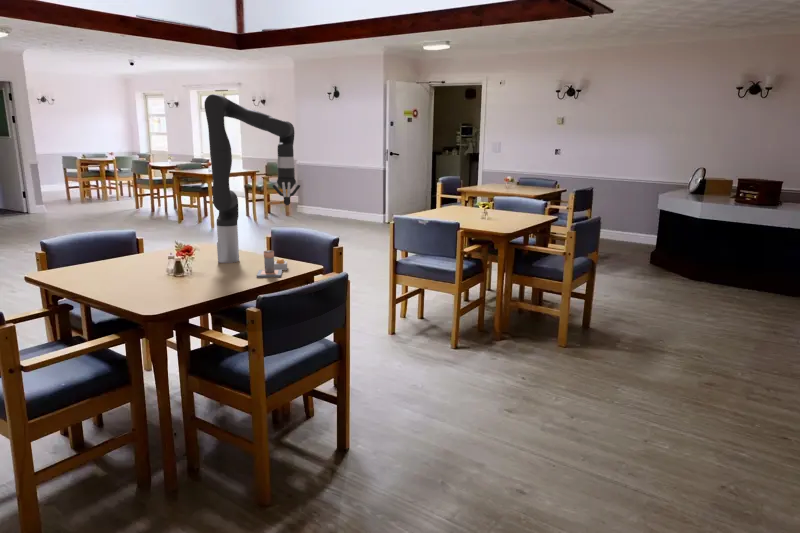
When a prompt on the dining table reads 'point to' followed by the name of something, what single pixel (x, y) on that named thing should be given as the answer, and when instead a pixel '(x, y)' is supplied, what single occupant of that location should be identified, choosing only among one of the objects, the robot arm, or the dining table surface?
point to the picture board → (269, 274)
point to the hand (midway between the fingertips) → (287, 205)
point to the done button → (280, 261)
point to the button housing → (280, 266)
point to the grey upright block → (269, 261)
